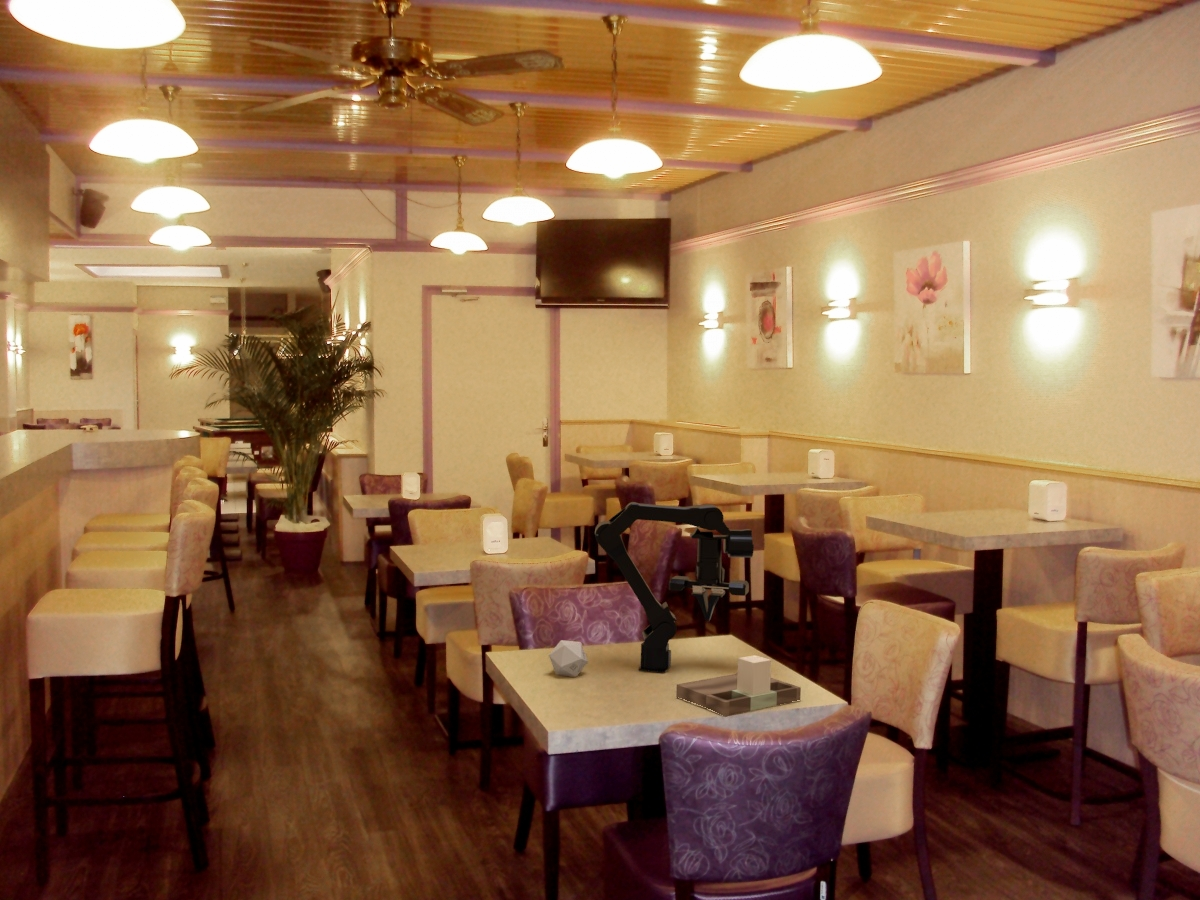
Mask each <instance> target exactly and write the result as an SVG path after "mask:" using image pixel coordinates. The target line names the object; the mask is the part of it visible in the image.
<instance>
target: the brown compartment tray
mask: <svg viewBox="0 0 1200 900" xmlns="http://www.w3.org/2000/svg"><path fill="white" fill-rule="evenodd" d="M737 674H738V673H733V674H727V675H722V676H716V677H711V678H705V679H700V680H694V681H688V682H683V683H676V691H675V693H676V696H675V697H679V698H682V699H685V700H687V701H690V702H693V703H696V704H698V705H701V706H703V707H706V708H708V709H711V710H713V711H715V712H717V713H719V714H718V715H720V714H721V715H720V716H722V715H723V716H722V717H730V716H734V715H739V714H743V712H744V713H748V711H749V712H753V711H752V710H754V711H757V710H756V709H759V710H762V709H761V708H763V709H767V708H766V707H768V708H771V707H770V706H773V707H776V706H775V705H778V706H781V705H780V704H783V705H785V704H784V703H788V704H790V703H789V702H792V701H797V700H800V701H801V691H802V689H801V688H802V687H801V686H799V685H795V684H792V683H788V682H786V681H782V680H779V679H776V678H773V677H771V678H770V692H768V693H763V694H758V695H750V694H747V693H744V692H741V691H739V690H737ZM797 702H798V701H797ZM717 713H716V714H717Z"/></svg>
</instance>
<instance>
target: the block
mask: <svg viewBox="0 0 1200 900" xmlns="http://www.w3.org/2000/svg"><path fill="white" fill-rule="evenodd" d="M771 669H772V660H771V659H769V658H765V657H762V656H759V655H757V654H756V655H755V654H754V655H748V656H743V657H742V656H741V657H738V658H737V673H736V674H737V690H739V691H741V692H744V693H747V694H750V695H758V694H763V693H768V692H770V678H772V676H771V674H772V673H771V672H772V671H771Z"/></svg>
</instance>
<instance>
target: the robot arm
mask: <svg viewBox="0 0 1200 900" xmlns="http://www.w3.org/2000/svg"><path fill="white" fill-rule="evenodd" d="M638 520H639V521H652V522H654V521H655V522H665V523H679V524H685V525H690V526H693V527H696V528H695V529H694V531H693V532H691V533H690V534H689V537H690V538H691V539H693V540H696V539H697V562H696V565H695V575H696V580H691V579H690V577H689V576H685V575H682V576H681V575H675V576H673V577H672V578H670V579H669V580H668V591H672V592H681V591H682V590H683V589H685V588H686V589H692V592H691V596H693V597H695V598H696V600H697V602H698V604H699V606H700V609H701V611H702V613H703V616H704V620H705V621H706V622H710V620H711V619H712V615H713V613H714V609H715V607H716V604H717V602H718V601H719V599H720V598H723V596H725V594H726V592H727V591H728V593H730V595H732V596H742V597H745V596H746V595H747V594H748V593H749V592H750V585H749V584H750V583H749V582H748V581H747V580H744V579H743V580H742V579H732V580H731V581H730V582H724V581H725V571H726V570H725V568H724V567H723V565H722V547H723V553H724V554H727V556H728V558H753V555H754V546H755V545H754V542H753V532H752V530H751V529H750V528H745V529H730V527H729V526H728V525H726V523H725V522H724V513H723V512H722V510H721V509H720V508H719V507H717V506H716V505H715V504H710V503H706V504H704V503H703V504H694V505H689V506H676V505H673V506H672V505H664V504H651V503H639V502H635V501H631V502H629V503H628V504H627V505H626V506H625V507H624V508H623V509H621V510H620V511H619V512H617V513H616V514H614V515H613V516H612V517H611V518H610V519H608V520H602V521H600V522H599V523H598V524H597V525H596V526H595V529H594V535H595V540H596V542H597V544H598V545H599V546H600V548H602V549H603V550H604V552H605V553H606V554H607V555H608V556H609V557H610V559H612V560H613V562H615V564H616V566H617V567H618V568H619V571H620V572H621V574H622V575H623V577H624V578H625V581H626V582H627V583H628V585H629V587H630V588H631V590H632V592H633V593H634V594H635V596H636V598H637V599H638V602H639V603H640V605H641V606H642V608H643V610H644V611H645V615H646V617H647V620H648V622H649V625H647V626H646V628H645V629H644V630H643V631H642V636H643V640H644V641H643V642H642V643H641V644H640V667H639V668H638V671H641V672H651V673H666V672H667V671H668V670H669V669H670V668H671V665H672V650H671V649H670V643H669V641H670V640H672V639H673V638H674V637H675V635H676V633H677V629H678V627H677V624H676V622H677V618H676V615H675V614H674V613H673V612H672V611H671V610H670V607H669V606H668V603H667V601H664V602H663V603H662V604H661V603H660V602H659V600H658V599H656V596H655V595H654V594H653V592H652V591H651V589H650V586H648V584H647V582H646V581H645V579H644V578H643V576H642V574H641V572H640V571H639V569H638V568H637V566H636V564H635V563H634V561H633V559H632V557H631V556H630V555H629V553H628V550H627V549H626V547H625V543H624V541H623V538H622V536H621V535H622V534H623V533H625V531H626V530H628V528H630V527H631V526H632V525H633V524H634V523H635V521H638ZM700 529H703V530H702V531H701V530H700ZM705 530H706V531H705ZM713 531H716V532H717V533H719V534H720V535H719V534H718V535H717V534H715V535H714V532H713ZM722 540H723V541H722ZM722 542H723V543H722ZM722 544H723V546H722ZM709 591H711V592H710V594H709V595H708V593H709Z"/></svg>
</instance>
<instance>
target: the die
mask: <svg viewBox="0 0 1200 900" xmlns="http://www.w3.org/2000/svg"><path fill="white" fill-rule="evenodd" d="M548 657H549V661H550V662H551V665H552V667H553V671H554V673H555V675H556V676H562V677H563V676H565V677H574V678H577V677H578V675H579V674H580V673H581V672H582V670H583V669H584V668H585V666H586V665H587V664H588V663H589V661H588V660H589V659H588V658H587V655H586V652H585V649H584V646H583V644H582V642H581V641H575V640H574V641H572V640H563V639H561V640H559V642H558V643H557V644H556V646H555V647H554V648H553V649H552V651H550V653H549V654H548Z"/></svg>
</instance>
